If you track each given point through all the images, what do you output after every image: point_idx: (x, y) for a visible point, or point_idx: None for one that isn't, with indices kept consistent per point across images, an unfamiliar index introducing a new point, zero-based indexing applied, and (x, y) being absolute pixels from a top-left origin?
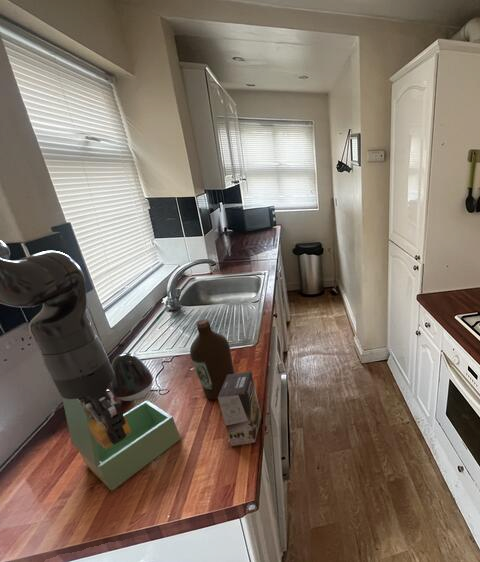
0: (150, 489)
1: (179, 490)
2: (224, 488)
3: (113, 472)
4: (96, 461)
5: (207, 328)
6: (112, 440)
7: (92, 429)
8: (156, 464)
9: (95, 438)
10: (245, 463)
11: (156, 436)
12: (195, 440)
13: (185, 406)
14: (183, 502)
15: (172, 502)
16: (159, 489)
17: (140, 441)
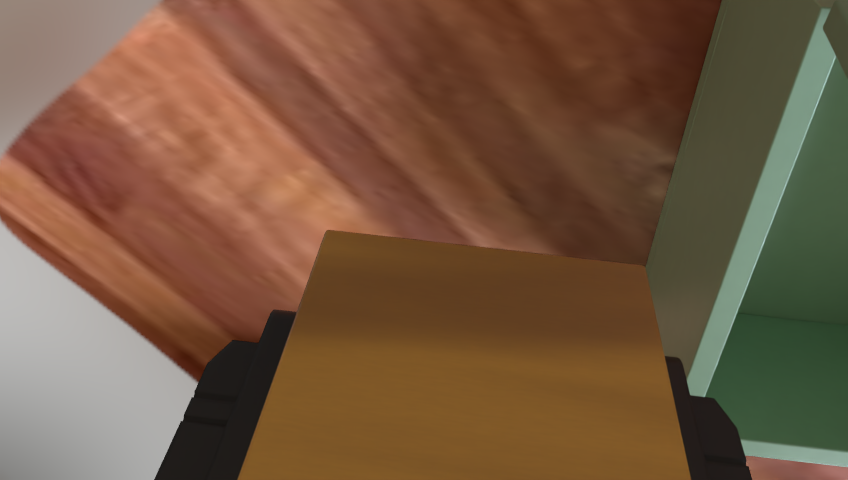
0: (494, 36)
1: (322, 97)
2: (118, 189)
3: (761, 19)
4: (845, 35)
5: None
6: (256, 359)
7: (493, 477)
8: (622, 152)
9: (595, 297)
10: (157, 308)
11: (684, 304)
12: None
13: None
14: (231, 61)
15: (287, 37)
16: (440, 57)
17: (721, 258)
